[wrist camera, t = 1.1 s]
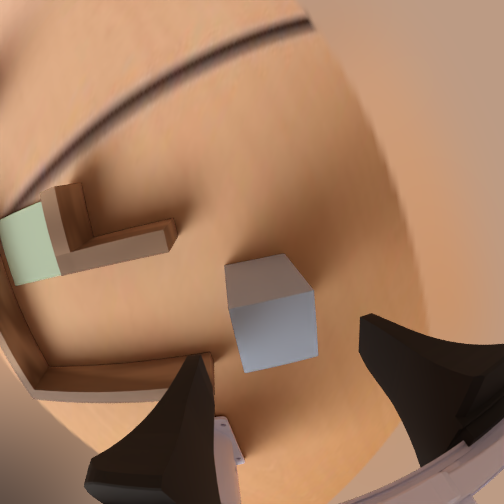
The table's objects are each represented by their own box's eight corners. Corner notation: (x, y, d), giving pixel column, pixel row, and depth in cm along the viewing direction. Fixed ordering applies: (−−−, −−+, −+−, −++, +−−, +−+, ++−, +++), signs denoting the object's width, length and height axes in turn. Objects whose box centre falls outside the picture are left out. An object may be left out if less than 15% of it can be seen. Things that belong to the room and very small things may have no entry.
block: (291, 305, 20) (318, 355, 14) (236, 317, 19) (244, 373, 14) (284, 253, 18) (313, 290, 13) (224, 265, 18) (228, 308, 12)
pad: (77, 270, 17) (75, 271, 16) (17, 284, 16) (15, 286, 16) (57, 195, 15) (55, 195, 15) (-2, 220, 15) (-4, 221, 14)
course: (213, 363, 20) (214, 394, 17) (47, 376, 19) (33, 399, 16) (161, 158, 16) (147, 155, 12) (-16, 224, 14) (-42, 234, 11)
